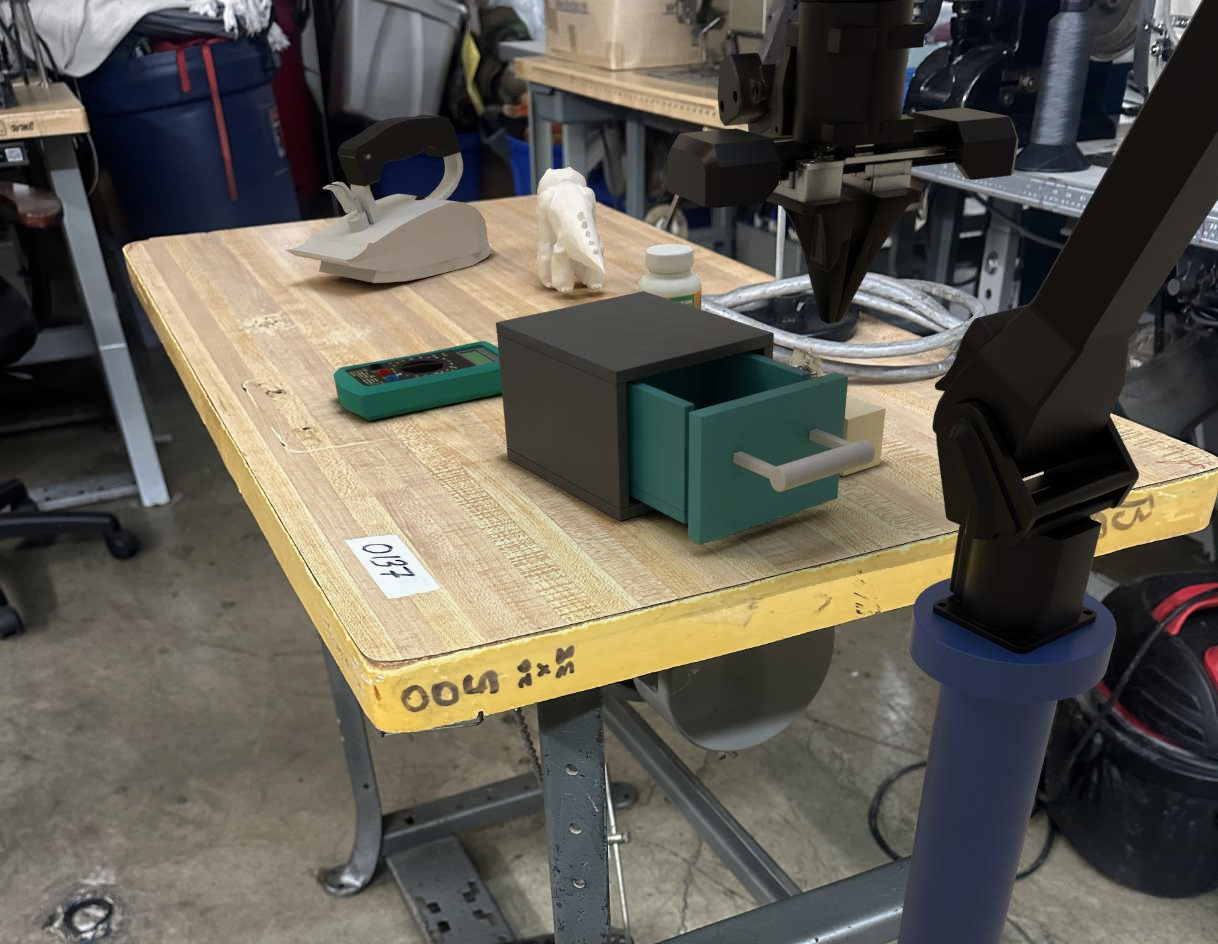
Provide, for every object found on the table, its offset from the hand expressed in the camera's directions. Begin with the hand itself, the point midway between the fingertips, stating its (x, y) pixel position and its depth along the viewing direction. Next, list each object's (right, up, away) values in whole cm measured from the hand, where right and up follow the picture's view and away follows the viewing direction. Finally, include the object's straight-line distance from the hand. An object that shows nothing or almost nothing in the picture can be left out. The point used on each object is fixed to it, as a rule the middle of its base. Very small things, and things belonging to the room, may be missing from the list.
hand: (830, 322), depth 68 cm
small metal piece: (+3, +6, +28) cm, 29 cm away
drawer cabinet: (-11, -4, +15) cm, 19 cm away
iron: (-37, +34, +66) cm, 83 cm away
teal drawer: (-5, -8, +8) cm, 13 cm away
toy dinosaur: (-16, +26, +55) cm, 63 cm away
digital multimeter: (-28, +6, +30) cm, 41 cm away
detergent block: (+4, -4, +14) cm, 15 cm away
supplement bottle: (-8, +10, +34) cm, 36 cm away
